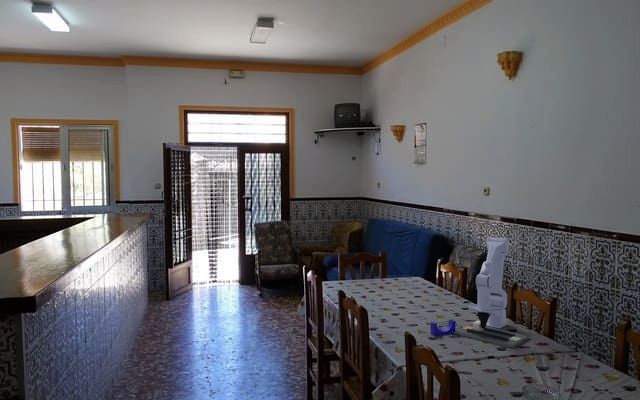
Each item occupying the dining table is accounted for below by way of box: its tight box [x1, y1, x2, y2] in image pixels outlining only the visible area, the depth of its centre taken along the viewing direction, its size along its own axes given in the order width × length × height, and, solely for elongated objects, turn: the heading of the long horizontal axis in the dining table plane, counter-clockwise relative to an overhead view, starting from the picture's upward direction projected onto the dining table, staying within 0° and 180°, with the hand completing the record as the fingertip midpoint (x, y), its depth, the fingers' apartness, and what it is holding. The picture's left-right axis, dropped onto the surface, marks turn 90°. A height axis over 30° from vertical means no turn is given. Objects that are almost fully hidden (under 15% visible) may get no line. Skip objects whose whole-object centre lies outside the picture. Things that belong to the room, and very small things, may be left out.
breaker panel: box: [454, 323, 529, 349], centre depth 233 cm, size 16×28×2 cm, turn 46°
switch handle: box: [472, 320, 484, 331], centre depth 237 cm, size 5×3×4 cm, turn 136°
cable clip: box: [429, 319, 457, 337], centre depth 239 cm, size 12×4×6 cm, turn 110°
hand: (483, 327), depth 235 cm, fingers closed
